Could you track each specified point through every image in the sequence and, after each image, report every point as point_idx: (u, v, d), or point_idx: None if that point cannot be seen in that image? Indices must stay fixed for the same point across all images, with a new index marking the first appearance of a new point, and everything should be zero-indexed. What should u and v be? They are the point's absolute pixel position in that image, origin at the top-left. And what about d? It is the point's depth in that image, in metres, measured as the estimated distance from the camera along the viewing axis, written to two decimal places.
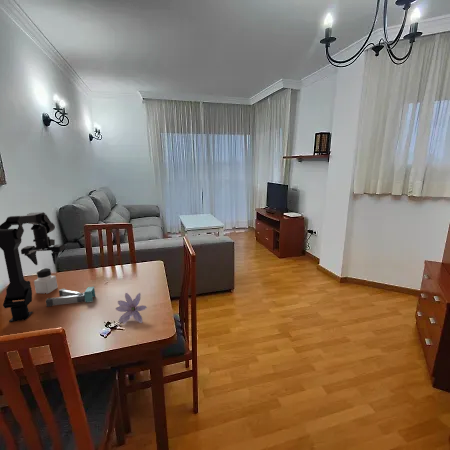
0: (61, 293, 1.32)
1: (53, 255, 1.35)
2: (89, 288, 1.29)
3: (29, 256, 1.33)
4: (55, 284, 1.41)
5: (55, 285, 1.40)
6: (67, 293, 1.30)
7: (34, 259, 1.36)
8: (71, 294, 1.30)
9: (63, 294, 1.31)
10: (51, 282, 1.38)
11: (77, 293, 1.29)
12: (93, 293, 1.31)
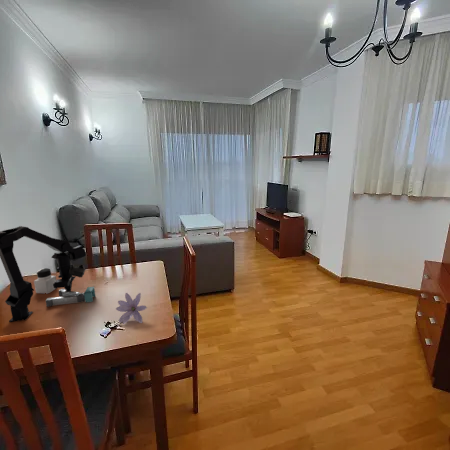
0: (60, 293, 1.32)
1: None
2: (89, 288, 1.29)
3: None
4: None
5: None
6: (67, 293, 1.30)
7: None
8: (71, 294, 1.30)
9: (63, 294, 1.31)
10: (51, 282, 1.38)
11: (77, 293, 1.29)
12: (93, 293, 1.31)
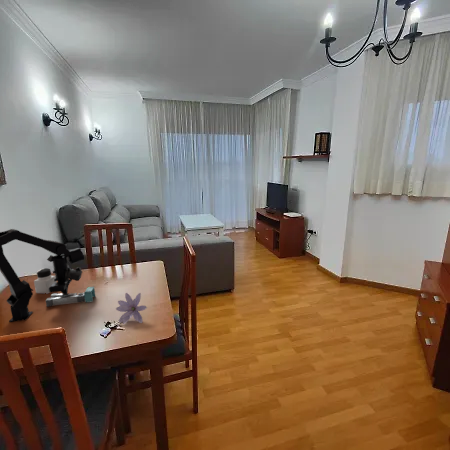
0: (53, 297, 1.27)
1: None
2: (89, 288, 1.29)
3: None
4: None
5: None
6: (62, 296, 1.27)
7: None
8: None
9: None
10: (51, 282, 1.38)
11: (75, 294, 1.28)
12: (93, 293, 1.31)
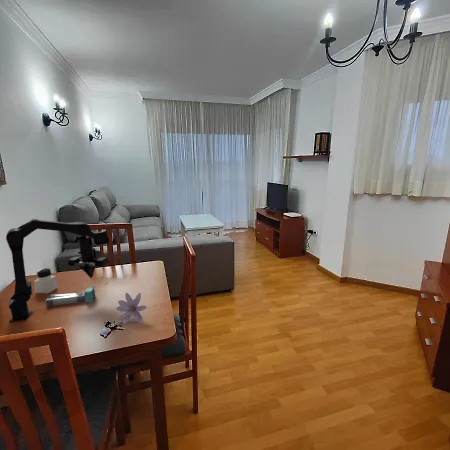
0: None
1: (88, 269, 1.25)
2: (89, 288, 1.29)
3: (83, 268, 1.26)
4: (55, 284, 1.41)
5: (55, 285, 1.40)
6: None
7: None
8: None
9: None
10: (51, 282, 1.38)
11: (75, 294, 1.27)
12: (93, 293, 1.31)
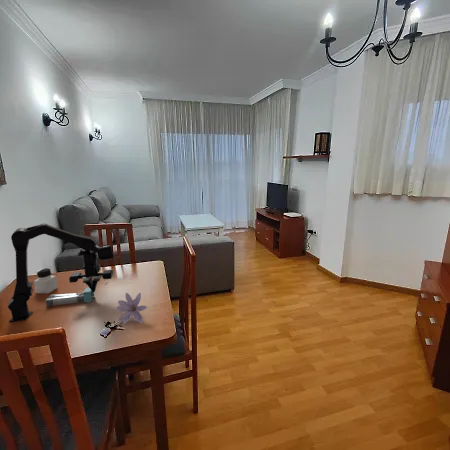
0: None
1: (94, 283, 1.25)
2: (88, 288, 1.29)
3: (88, 283, 1.24)
4: (55, 284, 1.41)
5: (55, 285, 1.40)
6: None
7: (92, 286, 1.27)
8: None
9: None
10: (51, 282, 1.38)
11: (75, 294, 1.27)
12: (92, 293, 1.30)
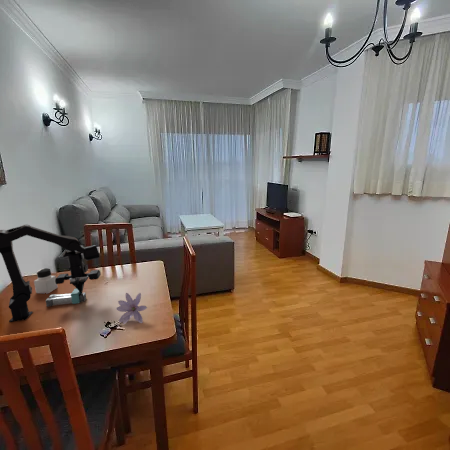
0: None
1: (80, 284, 1.24)
2: (76, 289, 1.28)
3: (75, 284, 1.23)
4: (55, 284, 1.41)
5: (55, 285, 1.40)
6: None
7: None
8: None
9: None
10: (51, 282, 1.38)
11: None
12: None
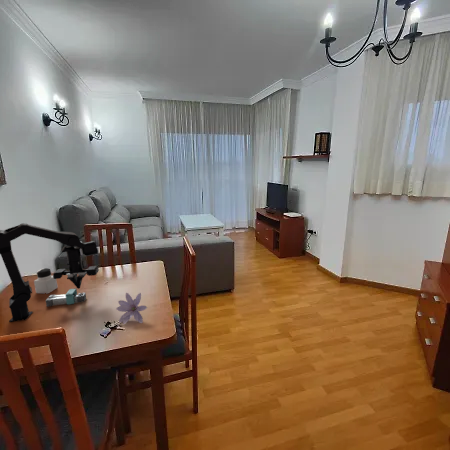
0: None
1: (78, 279, 1.24)
2: (71, 290, 1.27)
3: (72, 280, 1.23)
4: (55, 284, 1.41)
5: (55, 285, 1.40)
6: None
7: (76, 282, 1.26)
8: None
9: None
10: (51, 282, 1.38)
11: (75, 294, 1.27)
12: None
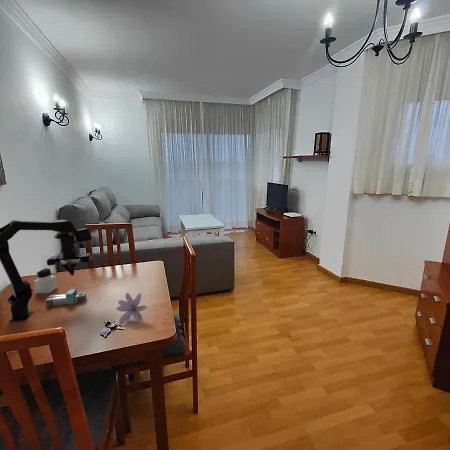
0: None
1: (72, 266, 1.25)
2: (71, 290, 1.27)
3: (66, 266, 1.25)
4: (55, 284, 1.41)
5: (55, 285, 1.40)
6: None
7: (70, 269, 1.27)
8: None
9: None
10: (51, 282, 1.38)
11: (75, 294, 1.27)
12: None
